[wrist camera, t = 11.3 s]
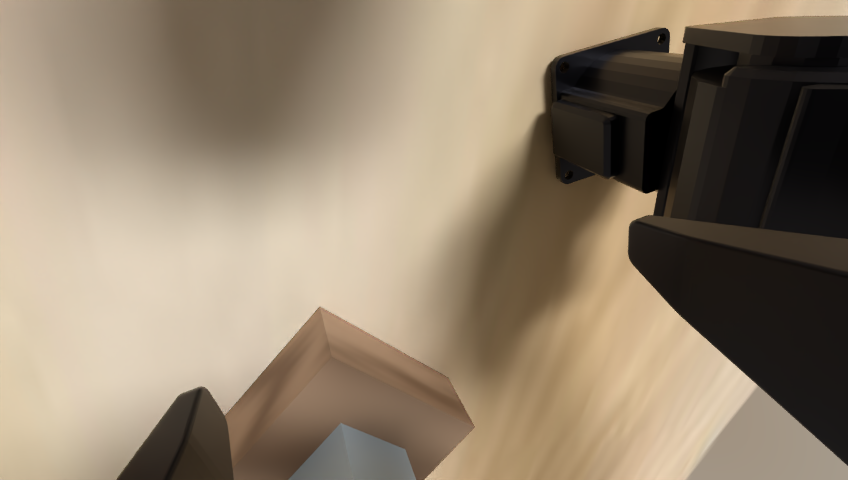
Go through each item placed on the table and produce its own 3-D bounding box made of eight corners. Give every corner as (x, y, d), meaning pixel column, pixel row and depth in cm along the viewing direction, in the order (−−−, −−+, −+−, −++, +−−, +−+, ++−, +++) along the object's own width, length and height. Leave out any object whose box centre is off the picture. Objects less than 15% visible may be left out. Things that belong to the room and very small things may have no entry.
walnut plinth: (319, 306, 23) (331, 357, 20) (447, 377, 28) (474, 427, 25) (202, 442, 24) (194, 511, 21) (345, 486, 30) (358, 548, 26)
